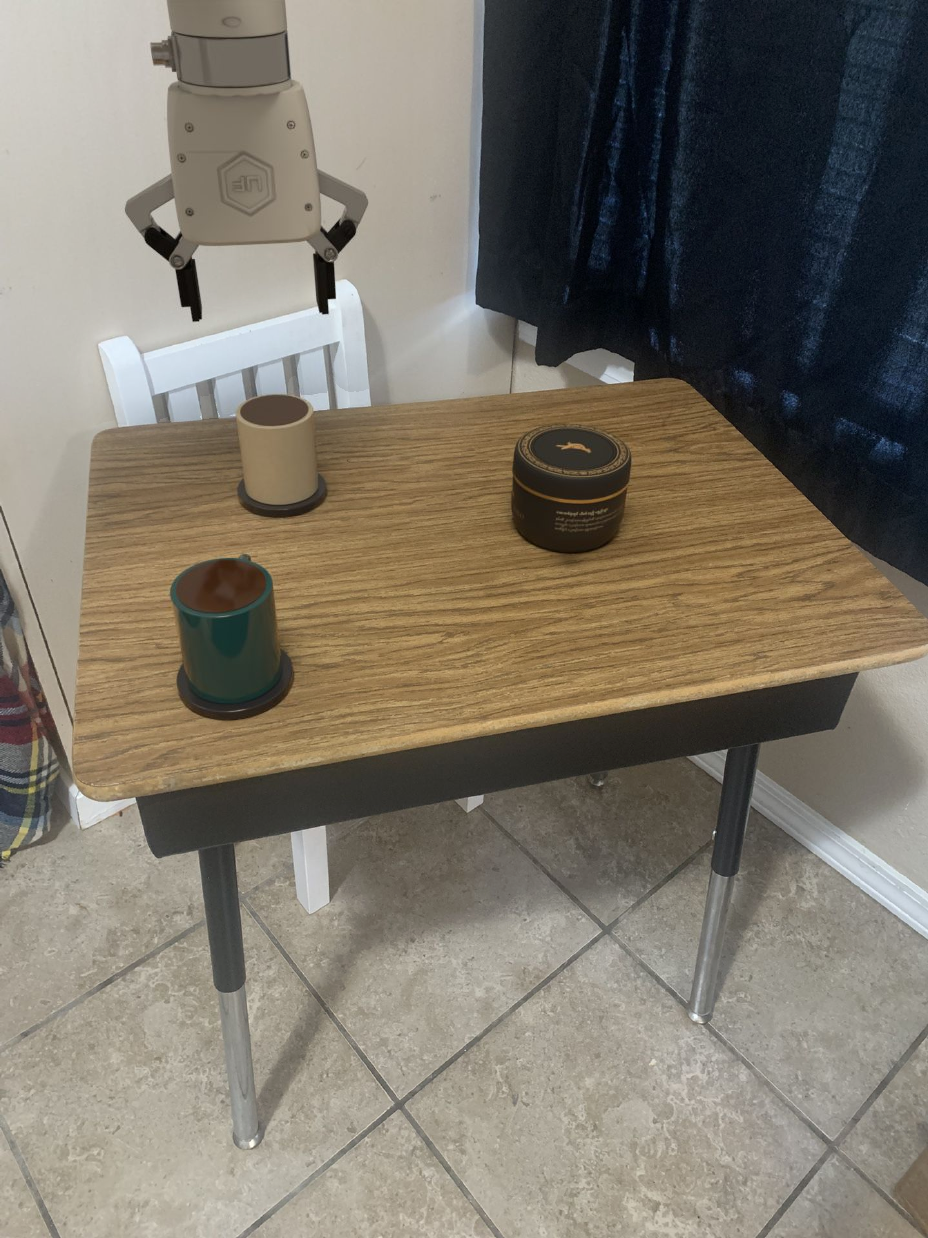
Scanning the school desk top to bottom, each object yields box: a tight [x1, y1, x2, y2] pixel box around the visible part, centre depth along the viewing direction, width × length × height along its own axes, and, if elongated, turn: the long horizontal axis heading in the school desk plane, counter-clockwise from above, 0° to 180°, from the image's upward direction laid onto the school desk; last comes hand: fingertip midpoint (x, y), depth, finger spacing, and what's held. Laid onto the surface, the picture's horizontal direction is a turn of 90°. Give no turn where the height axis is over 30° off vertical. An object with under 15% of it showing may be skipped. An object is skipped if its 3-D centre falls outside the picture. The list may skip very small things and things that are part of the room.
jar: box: [510, 423, 632, 553], centre depth 84 cm, size 10×10×8 cm
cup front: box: [169, 553, 282, 704], centre depth 67 cm, size 9×7×8 cm
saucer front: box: [175, 647, 294, 721], centre depth 69 cm, size 8×8×1 cm
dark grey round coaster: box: [236, 472, 328, 518], centre depth 89 cm, size 8×8×1 cm
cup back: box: [235, 393, 319, 505], centre depth 87 cm, size 9×7×8 cm
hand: (260, 311), depth 76 cm, fingers open, 9 cm apart
